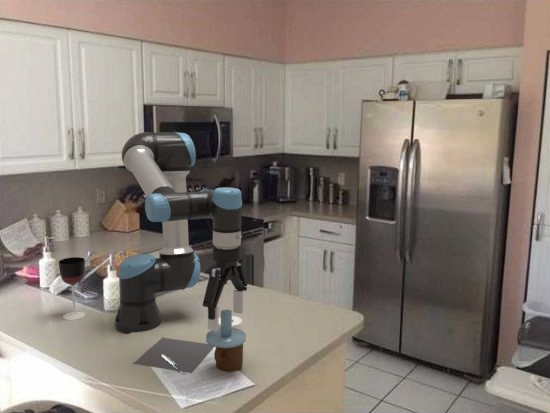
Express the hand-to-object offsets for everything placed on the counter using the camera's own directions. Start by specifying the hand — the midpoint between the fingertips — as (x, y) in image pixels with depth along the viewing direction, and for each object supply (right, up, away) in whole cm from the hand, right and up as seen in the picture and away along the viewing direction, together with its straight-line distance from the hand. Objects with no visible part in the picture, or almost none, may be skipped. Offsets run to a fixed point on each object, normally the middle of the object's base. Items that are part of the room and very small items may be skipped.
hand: (226, 321), depth 137 cm
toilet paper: (-1, -11, +23) cm, 26 cm away
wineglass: (-57, -7, +38) cm, 69 cm away
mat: (-16, -13, +10) cm, 23 cm away
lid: (0, -5, +1) cm, 5 cm away
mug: (0, -15, +3) cm, 15 cm away
